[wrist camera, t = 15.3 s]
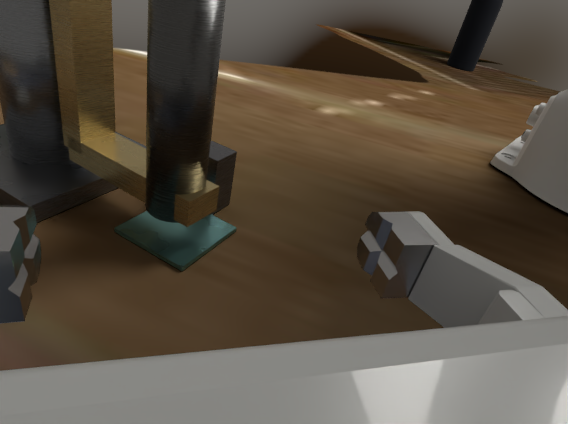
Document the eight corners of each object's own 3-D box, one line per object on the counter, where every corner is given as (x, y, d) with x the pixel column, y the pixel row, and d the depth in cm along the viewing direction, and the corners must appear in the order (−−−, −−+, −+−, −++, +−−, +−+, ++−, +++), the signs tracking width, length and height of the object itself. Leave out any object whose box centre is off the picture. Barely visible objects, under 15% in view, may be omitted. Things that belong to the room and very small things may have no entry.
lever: (-18, 132, 26) (-75, -131, 19) (64, 115, 30) (42, -104, 23) (164, 243, 20) (178, -71, 13) (233, 203, 25) (270, -50, 18)
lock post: (70, 123, 34) (53, -63, 27) (257, 215, 28) (296, 5, 21) (-282, 210, 19) (-517, -147, 12) (-51, 443, 13) (-259, -1, 6)
